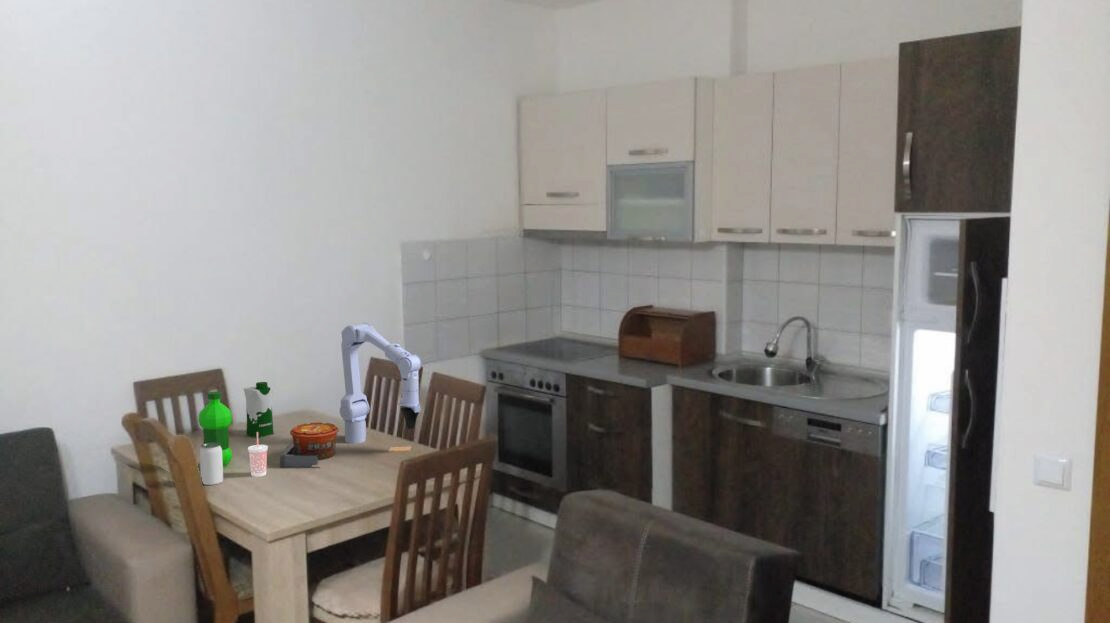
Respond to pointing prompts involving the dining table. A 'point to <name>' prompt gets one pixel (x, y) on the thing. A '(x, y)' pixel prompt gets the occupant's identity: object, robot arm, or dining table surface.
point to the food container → (315, 439)
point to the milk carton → (259, 409)
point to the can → (211, 463)
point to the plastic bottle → (216, 424)
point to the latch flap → (400, 448)
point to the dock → (297, 459)
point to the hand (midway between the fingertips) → (410, 428)
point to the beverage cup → (258, 459)
